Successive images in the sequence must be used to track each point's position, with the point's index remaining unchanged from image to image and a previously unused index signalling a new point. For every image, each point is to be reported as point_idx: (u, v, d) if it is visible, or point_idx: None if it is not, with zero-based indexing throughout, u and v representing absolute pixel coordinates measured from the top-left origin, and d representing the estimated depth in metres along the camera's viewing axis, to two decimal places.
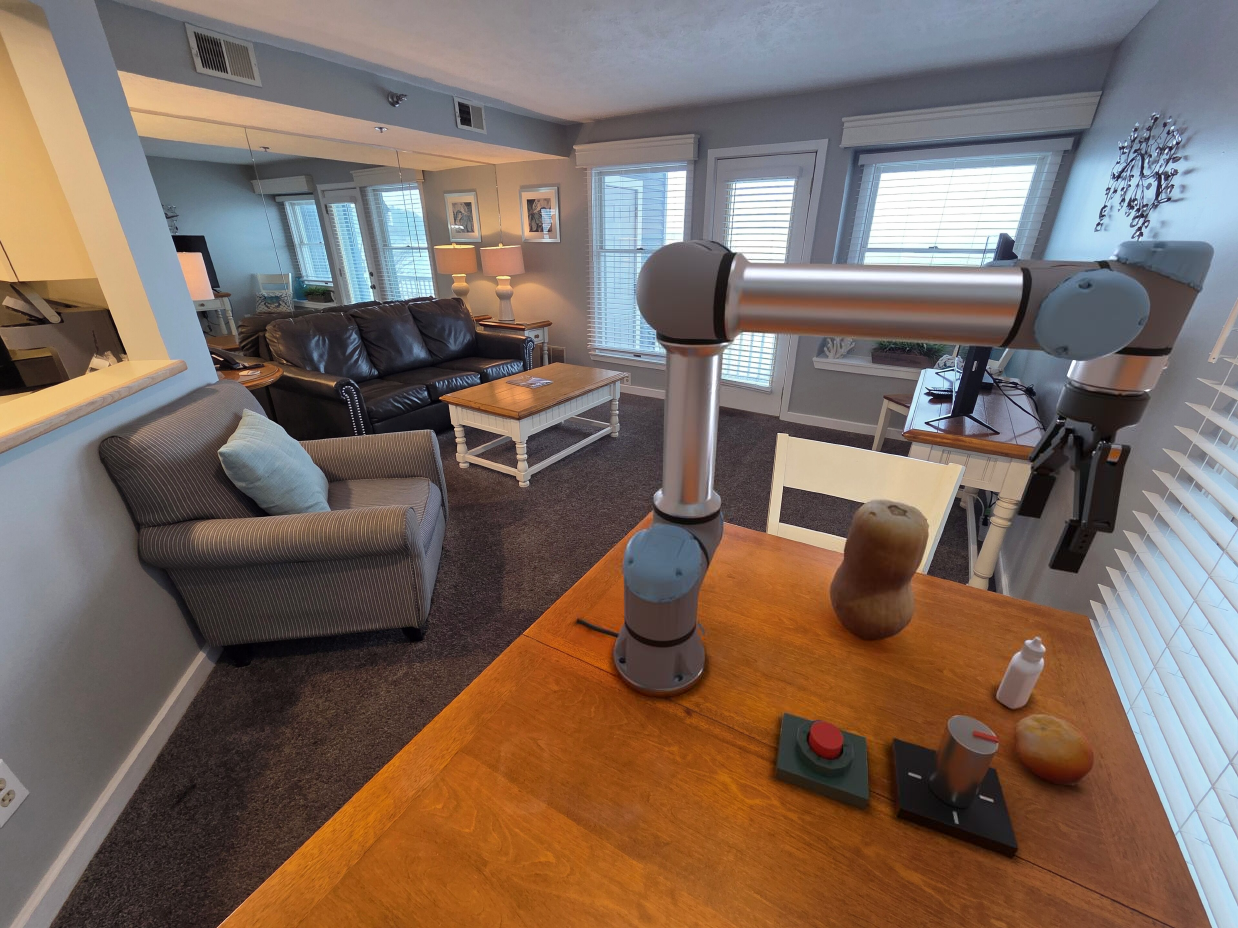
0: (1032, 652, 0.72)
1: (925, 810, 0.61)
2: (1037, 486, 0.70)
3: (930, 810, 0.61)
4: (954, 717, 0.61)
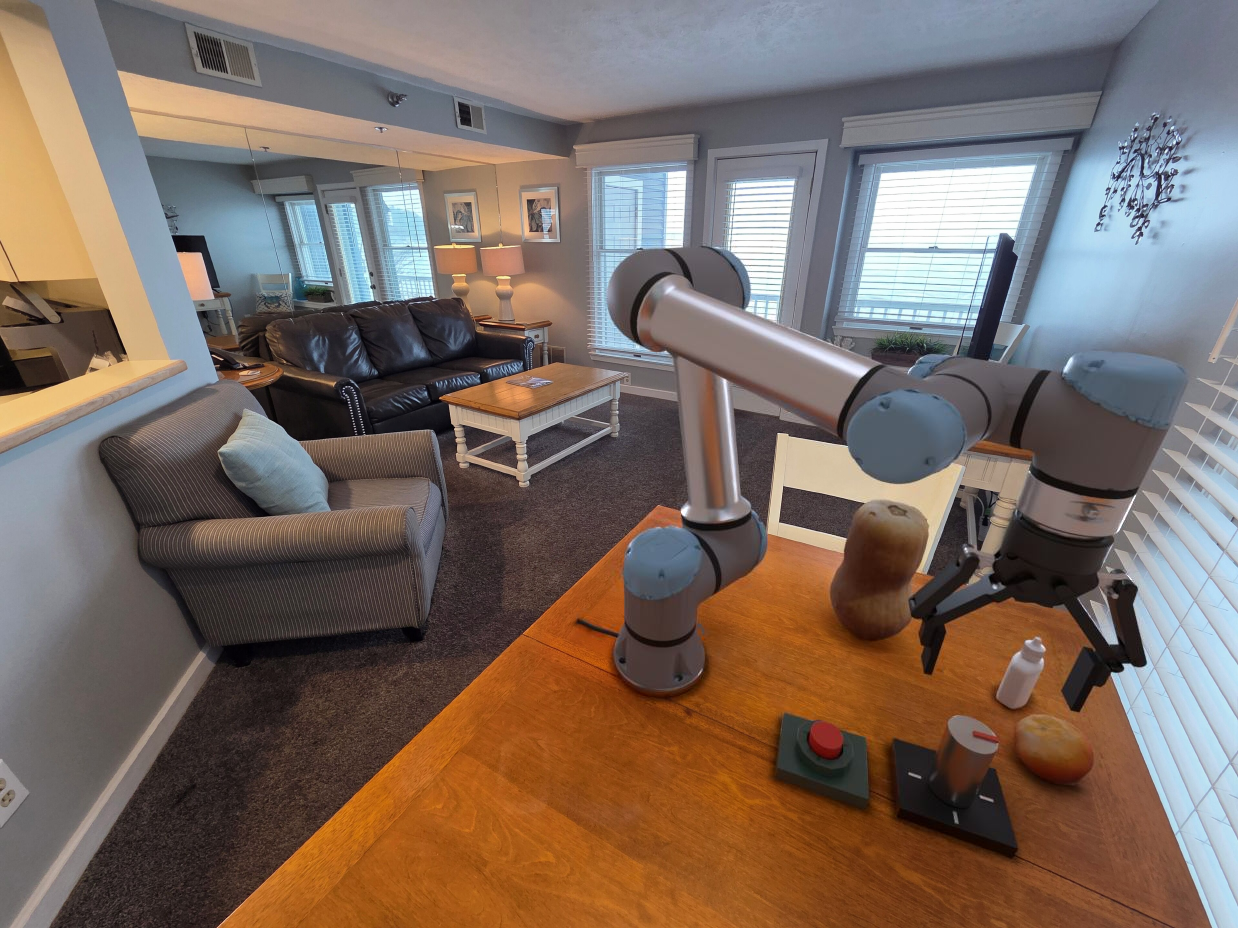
0: (1032, 652, 0.72)
1: (925, 810, 0.61)
2: (1081, 664, 0.52)
3: (930, 810, 0.61)
4: (954, 717, 0.61)
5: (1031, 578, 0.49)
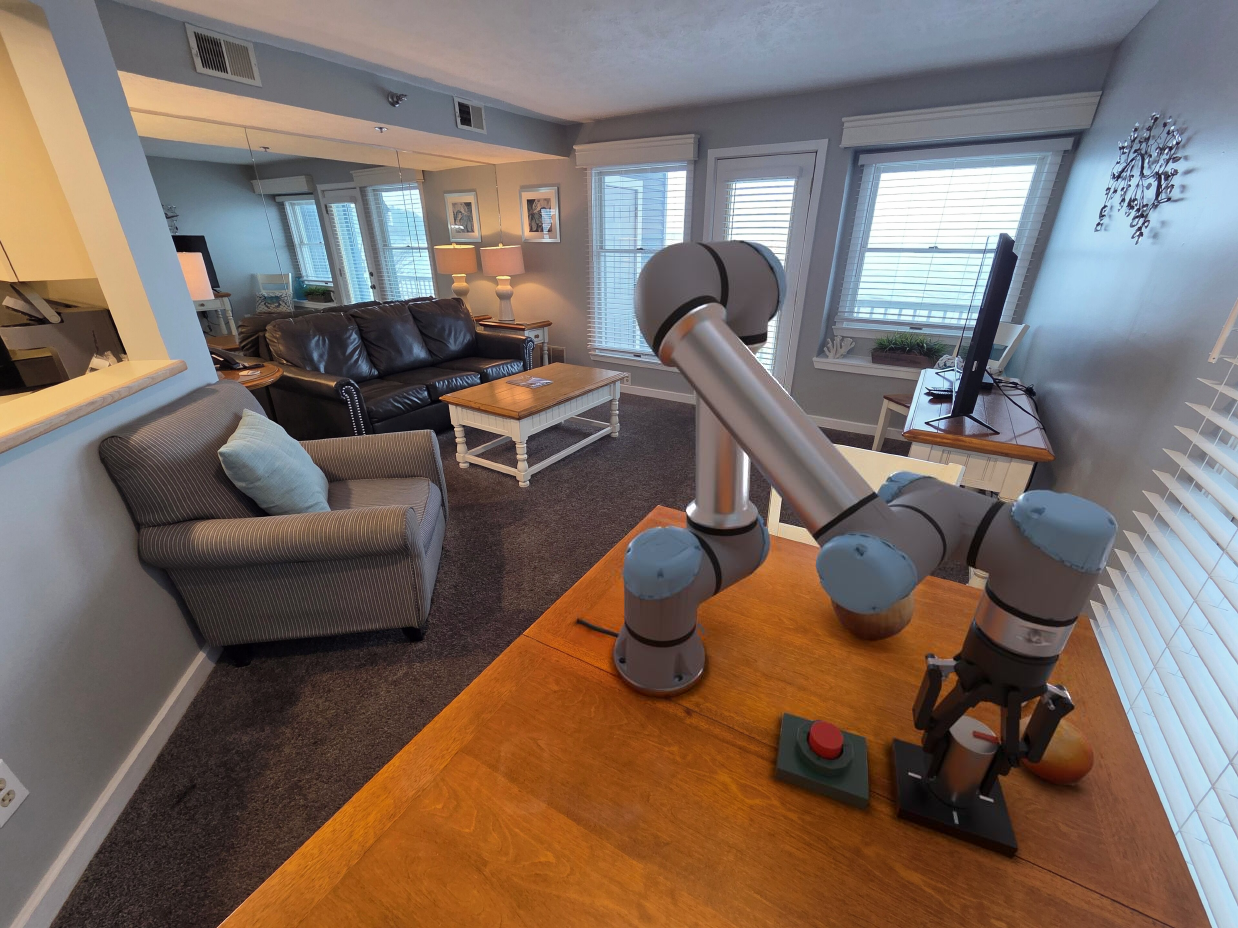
0: None
1: (925, 810, 0.61)
2: None
3: (930, 810, 0.61)
4: None
5: (984, 682, 0.54)
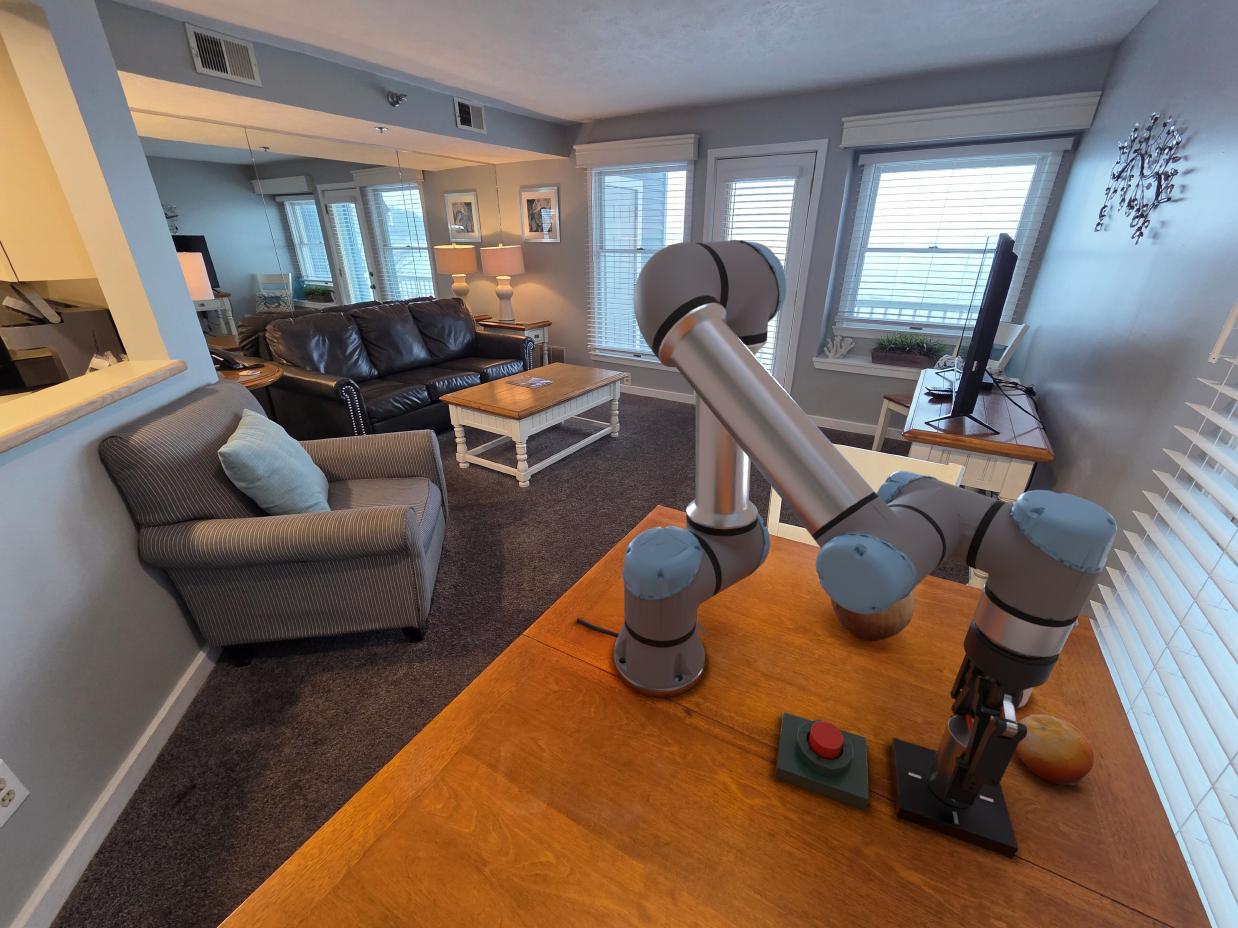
0: None
1: (925, 810, 0.61)
2: None
3: (930, 810, 0.61)
4: (958, 740, 0.58)
5: None
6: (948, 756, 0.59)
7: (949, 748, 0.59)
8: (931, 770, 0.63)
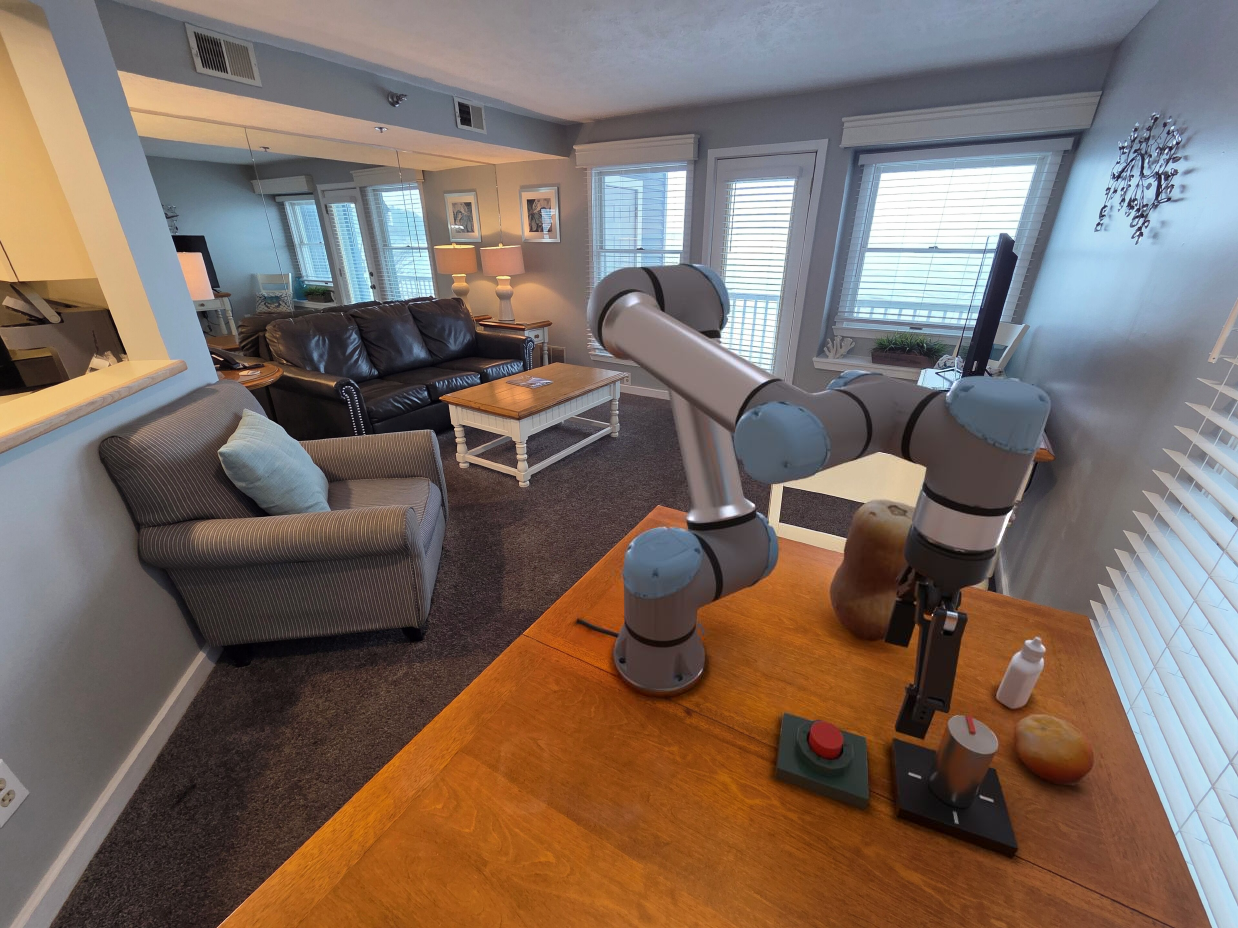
0: (1032, 652, 0.72)
1: (925, 810, 0.61)
2: (902, 615, 0.63)
3: (930, 810, 0.61)
4: (958, 740, 0.58)
5: (958, 592, 0.51)
6: (948, 756, 0.59)
7: (949, 748, 0.59)
8: (931, 770, 0.63)
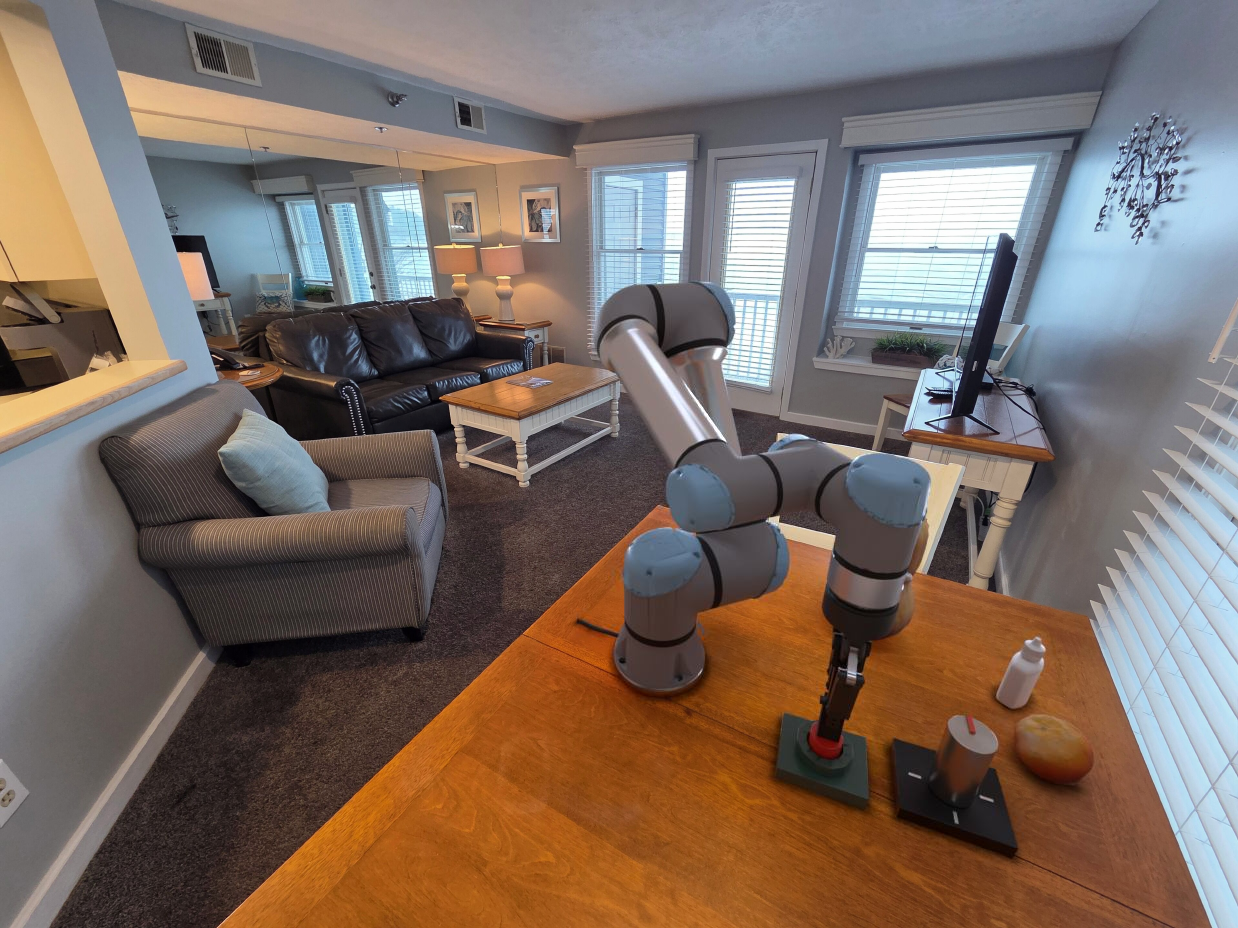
0: (1032, 652, 0.72)
1: (925, 810, 0.61)
2: None
3: (930, 810, 0.61)
4: (958, 740, 0.58)
5: (869, 646, 0.56)
6: (948, 756, 0.59)
7: (949, 748, 0.59)
8: (931, 770, 0.63)
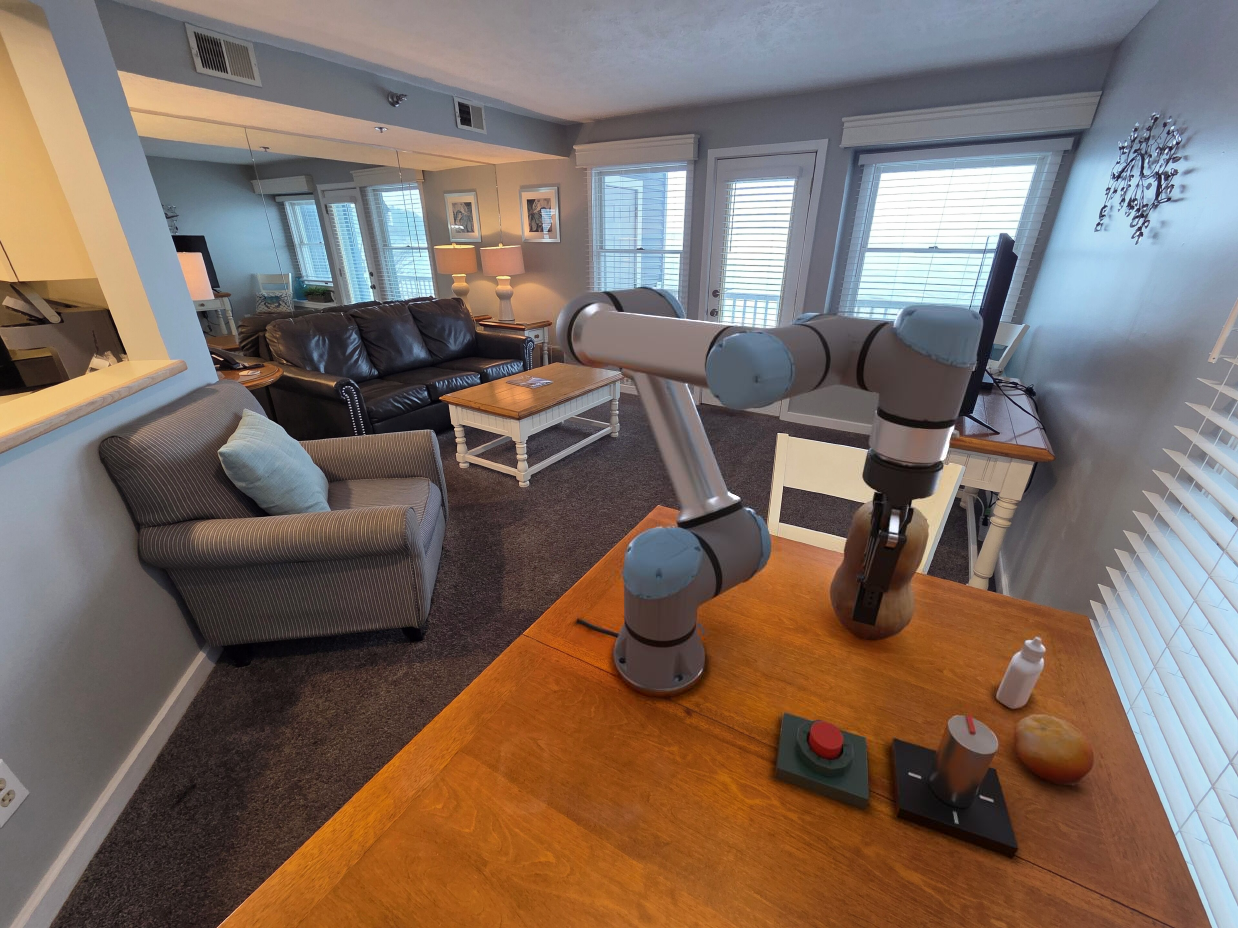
0: (1032, 652, 0.72)
1: (925, 810, 0.61)
2: None
3: (930, 810, 0.61)
4: (958, 740, 0.58)
5: (911, 511, 0.55)
6: (948, 756, 0.59)
7: (949, 748, 0.59)
8: (931, 770, 0.63)
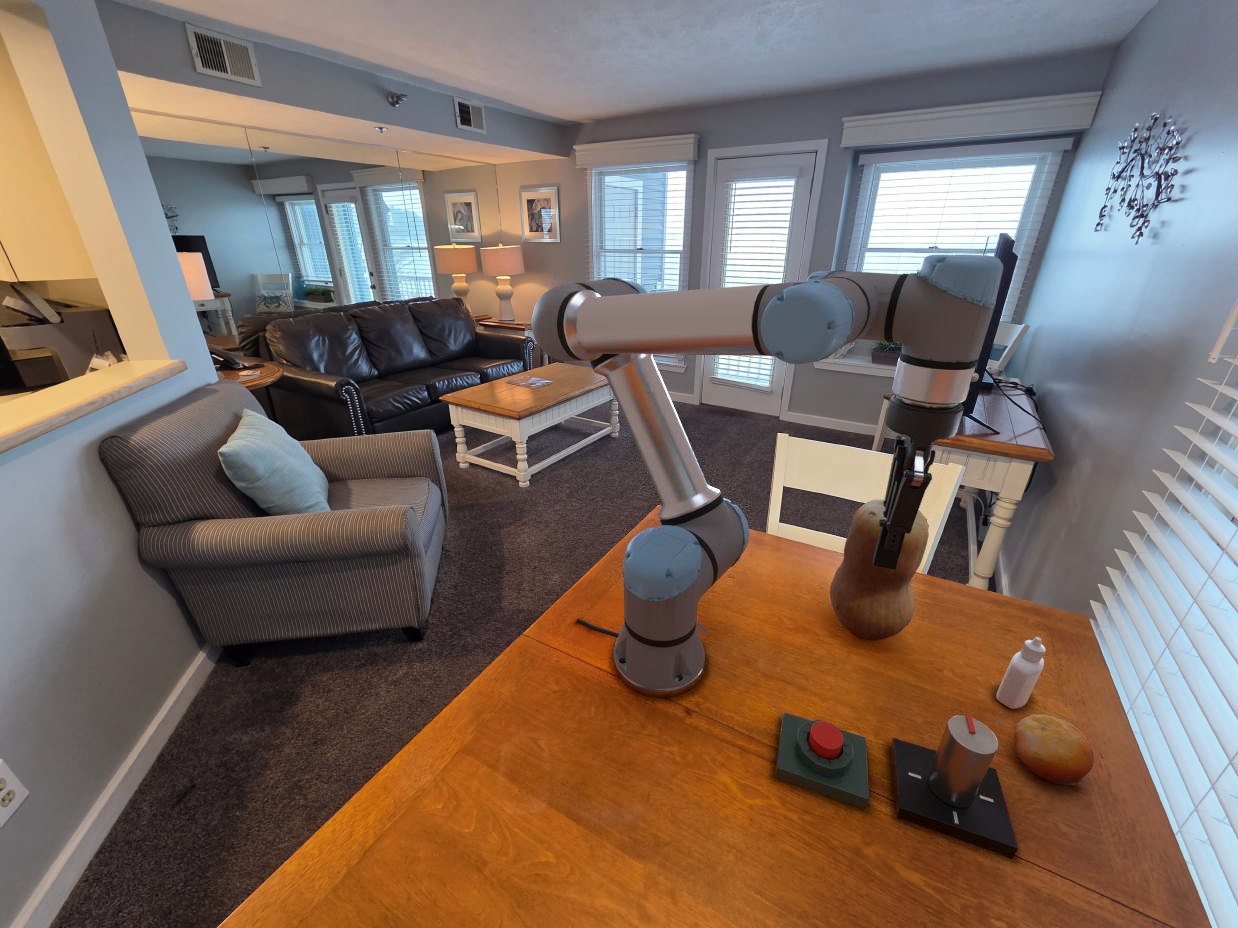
0: (1032, 652, 0.72)
1: (925, 810, 0.61)
2: None
3: (930, 810, 0.61)
4: (958, 740, 0.58)
5: (933, 453, 0.59)
6: (948, 756, 0.59)
7: (949, 748, 0.59)
8: (931, 770, 0.63)
